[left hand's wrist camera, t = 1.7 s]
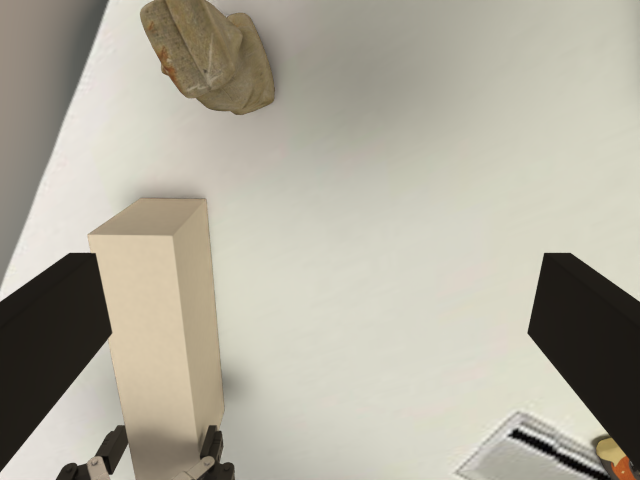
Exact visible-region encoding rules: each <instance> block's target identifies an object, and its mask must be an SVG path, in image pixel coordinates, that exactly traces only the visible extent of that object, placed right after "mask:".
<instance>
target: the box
mask: <svg viewBox="0 0 640 480" xmlns="http://www.w3.org/2000/svg"><path fill="white" fill-rule="evenodd" d="M87 236H88V241H89V246H90V251H91V253H96V257H97V261H98V266H99V271H100V276H101V280H102V285H103V290H104V295H105V299H106V304H107V309H108V314H109V319H110V323H111V328H112V334H111V336H110V337H109V338H108V342H109V347H110V352H111V357H112V362H113V367H114V372H115V377H116V382H117V387H118V392H119V397H120V402H121V407H122V412H123V417H124V422H125V427H126V433H127V438H128V443H129V448H130V453H131V458H132V463H133V468H134V473H135V478H136V480H172V479H173V478H174V477H175V476H176V475H178V474H179V473H180V472H182V471H185V472H187V471H188V470H190V469H191V468H192V467H193V466H194V465H196V464H197V463H198V462H199V461H200V453H201V450H202V446H203V443H204V440H205V437H206V433H207V430H208V427H209V425H217V429H218V431H219V428H220V424H221V421H222V417H223V414H224V399H223V387H222V376H221V364H220V352H219V341H218V329H217V318H216V306H215V295H214V283H213V272H212V260H211V249H210V237H209V225H208V214H207V202H206V199H165V198H140V199H139V200H137V201H136V202H134V203H133V204H132V205H130V206H129V207H127V208H126V209H124V210H123V211H121V212H120V213H118V214H117V215H115V216H114V217H112V218H111V219H110V220H108V221H107V222H105V223H104V224H102V225H101V226H99V227H98V228H96V229H95V230H93V231H92V232H90V233H89V234H88V235H87Z"/></svg>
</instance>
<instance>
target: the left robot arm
mask: <svg viewBox="0 0 640 480" xmlns="http://www.w3.org/2000/svg"><path fill="white" fill-rule="evenodd" d="M111 334H112V328H111V323H110V319H109V314H108V309H107V304H106V299H105V295H104V290H103V285H102V280H101V276H100V271H99V266H98V261H97V257H96V253H69V254H67V255H66V256H65V257H63V258H62V259H60V260H59V261H57V262H56V263H55V264H53V265H52V266H50V267H49V268H48V269H46V270H45V271H43V272H42V273H40V274H39V275H38V276H36V277H35V278H33V279H32V280H31V281H29V282H28V283H26V284H25V285H23V286H22V287H21V288H19V289H18V290H16V291H15V292H13V293H12V294H11V295H9V296H8V297H6V298H5V299H4V300H2V301H1V302H0V472H1V471H2V470H3V468H4V467H5V466H6V465H7V463H8V462H9V461H10V460H11V458H12V457H13V456H14V455H15V453H16V452H17V451H18V450H19V448H20V447H21V446H22V445H23V444H24V442H25V441H26V440H27V439H28V437H29V436H30V435H31V434H32V432H33V431H34V430H35V429H36V427H37V426H38V425H39V424H40V422H41V421H42V420H43V419H44V417H45V416H46V415H47V414H48V413H49V411H50V410H51V409H52V408H53V406H54V405H55V404H56V403H57V401H58V400H59V399H60V398H61V396H62V395H63V394H64V393H65V391H66V390H67V389H68V388H69V387H70V385H71V384H72V383H73V382H74V380H75V379H76V378H77V377H78V375H79V374H80V373H81V372H82V370H83V369H84V368H85V367H86V365H87V364H88V363H89V362H90V361H91V359H92V358H93V357H94V356H95V354H96V353H97V352H98V351H99V349H100V348H101V347H102V346H103V344H104V343H105V342H106V341H107V339H108V338H109V337H110V336H111ZM528 334H529V336H530V337H531V338H532V339H533V341H534V342H535V343H536V344H537V346H538V347H539V348H540V349H541V351H542V352H543V353H544V354H545V356H546V357H547V358H548V359H549V361H550V362H551V363H552V364H553V365H554V367H555V368H556V369H557V370H558V372H559V373H560V374H561V375H562V377H563V378H564V379H565V380H566V382H567V383H568V384H569V385H570V387H571V388H572V389H573V390H574V391H575V393H576V394H577V395H578V396H579V398H580V399H581V400H582V401H583V403H584V404H585V405H586V406H587V408H588V409H589V410H590V411H591V413H592V414H593V415H594V416H595V417H596V419H597V420H598V421H599V422H600V424H601V425H602V426H603V427H604V429H605V430H606V431H607V432H608V434H609V435H610V436H611V437H612V439H613V440H614V441H615V442H616V444H617V445H618V446H619V447H620V448H621V450H622V451H623V452H624V453H625V455H626V456H627V457H628V458H629V460H630V461H631V462H632V463H633V465H634V466H635V467H636V468H637V470H638V471H639V472H640V302H639V301H638V300H636V299H635V298H634V297H632V296H631V295H629V294H628V293H627V292H625V291H624V290H622V289H621V288H619V287H618V286H617V285H615V284H614V283H612V282H611V281H609V280H608V279H607V278H605V277H604V276H602V275H601V274H600V273H598V272H597V271H595V270H594V269H592V268H591V267H590V266H588V265H587V264H585V263H584V262H583V261H581V260H580V259H578V258H577V257H575V256H574V255H573V254H571V253H544V256H543V261H542V266H541V271H540V276H539V280H538V285H537V290H536V295H535V299H534V304H533V309H532V314H531V319H530V323H529V328H528Z"/></svg>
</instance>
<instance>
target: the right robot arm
mask: <svg viewBox="0 0 640 480" xmlns="http://www.w3.org/2000/svg"><path fill="white" fill-rule="evenodd" d="M127 445H128V438H127V433H126V427H125V425H118V426H117V427H116V429H115V430H114V431H111V432H110V433H109V434H108V435H107V436H106V437H105V439H104V441H103V443H102V445H101V446H100V448H99V450H98V451H97V453H96V455H95V457H93V458H91V459H90V460H89V461H88V462H87V463H86V464H83V465H79V466H77V464H76V463H69V464H67V465H65V466H64V467H63V468H62V470H61V471H60V473H59V475H58V477H57V478H56V480H110V477H109V475H112V474H113V472H114V470H115V468H116V466H117V465H118V463H119V461H120V459H121V457H122V455H123V453H124V451H125V449H126V447H127ZM222 450H223V438H222V432H221V431H218V429H217V425H209V427H208V430H207V433H206V437H205V440H204V443H203V446H202V450H201V453H200V461H199V462H198V463H197V464H196V465H194V466H193V467H192V468H191V469H190V470H188V471H187V472H185V471H182V472H180V473H179V474H178V475H176V476H175V477H174V478H173V479H172V480H235V476H234V473H235V470H234V465H233V464H232V463H230V462H227V463H224V464H220V463H219V462H220V458H221V454H222Z"/></svg>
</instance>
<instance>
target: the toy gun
mask: <svg viewBox="0 0 640 480" xmlns="http://www.w3.org/2000/svg"><path fill="white" fill-rule="evenodd" d="M596 453H597V455H598V456H599V457H600V459H601V462H602V464H603V466H604V468H605V469H606V471H607V472H608V474H609V475H610V477H611V480H640V472H639V471H638V470H637V468H636V467H635V466H633V467H632V468H631V465H630V460H629V458H628V457H627V456H626V455H625V453H624V452H623V451H622V450H621V448H620V447H619V446H618V445H617V444H616V442H615V441H614V440H613V439H612V438H608V439H604V440H601V441H600V442H599V443H598V445H597V448H596Z"/></svg>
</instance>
